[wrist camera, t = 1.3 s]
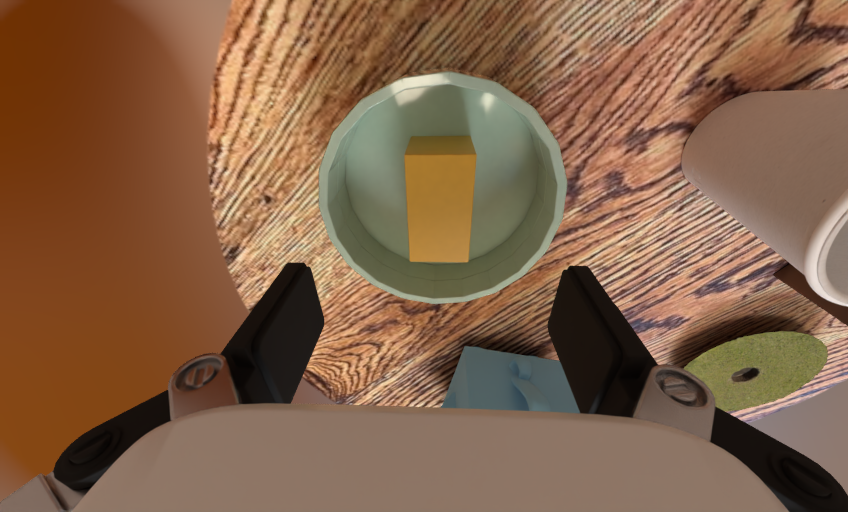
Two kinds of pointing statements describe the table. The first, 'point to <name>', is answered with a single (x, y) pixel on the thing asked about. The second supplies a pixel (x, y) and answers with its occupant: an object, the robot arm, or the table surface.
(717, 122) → the dixie cup
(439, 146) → the yellow rectangular block
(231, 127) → the table surface
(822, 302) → the stand
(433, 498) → the robot arm
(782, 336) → the mat
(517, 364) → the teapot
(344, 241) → the bowl
